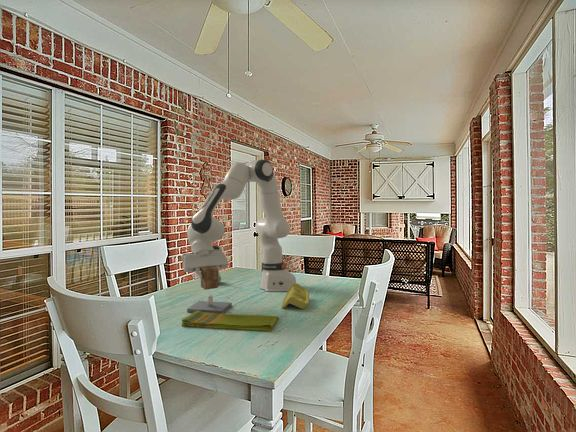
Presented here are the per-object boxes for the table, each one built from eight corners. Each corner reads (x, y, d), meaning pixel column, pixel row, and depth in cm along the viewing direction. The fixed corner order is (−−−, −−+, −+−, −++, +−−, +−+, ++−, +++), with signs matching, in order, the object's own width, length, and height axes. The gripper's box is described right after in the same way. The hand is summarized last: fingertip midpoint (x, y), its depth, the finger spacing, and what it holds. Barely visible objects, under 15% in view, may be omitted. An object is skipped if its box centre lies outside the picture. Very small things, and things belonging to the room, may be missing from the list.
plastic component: (308, 305, 149) (288, 295, 149) (301, 319, 150) (281, 309, 150) (309, 290, 168) (291, 281, 168) (302, 302, 169) (285, 293, 170)
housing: (213, 285, 154) (213, 265, 154) (218, 287, 149) (217, 267, 149) (200, 286, 151) (200, 266, 150) (205, 289, 146) (205, 269, 146)
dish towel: (197, 314, 145) (197, 307, 144) (279, 319, 139) (279, 311, 138) (180, 328, 129) (180, 319, 129) (271, 333, 123) (271, 325, 123)
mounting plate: (231, 305, 155) (231, 292, 155) (222, 314, 143) (221, 299, 143) (199, 304, 158) (199, 290, 158) (187, 312, 146) (186, 297, 146)
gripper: (181, 249, 149) (188, 275, 142) (224, 246, 161) (232, 270, 153) (178, 258, 153) (185, 283, 146) (220, 254, 165) (228, 278, 157)
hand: (209, 276), depth 149 cm, fingers closed on housing, 6 cm apart
